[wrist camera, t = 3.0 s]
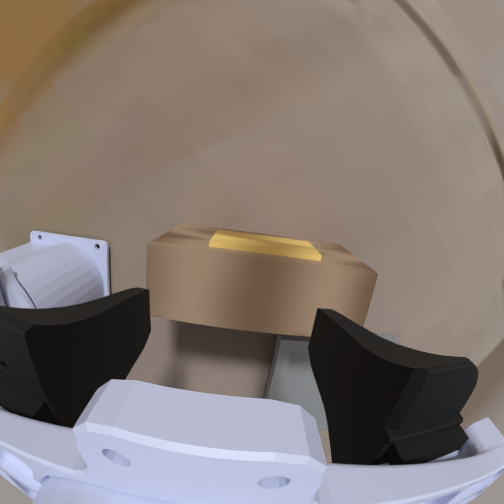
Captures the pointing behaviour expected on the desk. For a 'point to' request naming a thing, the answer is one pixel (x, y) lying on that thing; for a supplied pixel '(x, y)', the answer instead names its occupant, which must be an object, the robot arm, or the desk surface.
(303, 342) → the tray
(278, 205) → the desk surface
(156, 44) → the desk surface
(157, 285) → the lamp housing
